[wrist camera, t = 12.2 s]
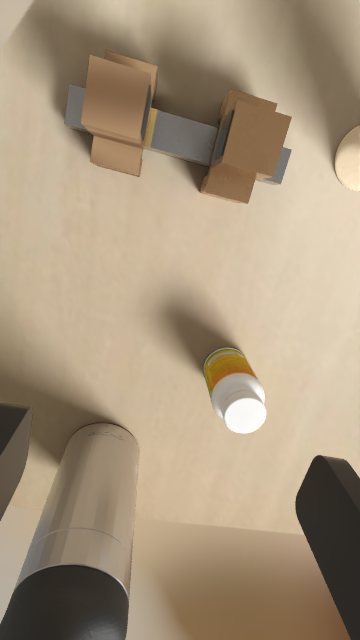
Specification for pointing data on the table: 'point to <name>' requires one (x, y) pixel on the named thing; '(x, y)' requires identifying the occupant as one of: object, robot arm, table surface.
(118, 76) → the tan stepped block
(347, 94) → the table surface
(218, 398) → the supplement bottle
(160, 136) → the rail
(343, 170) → the beer glass
